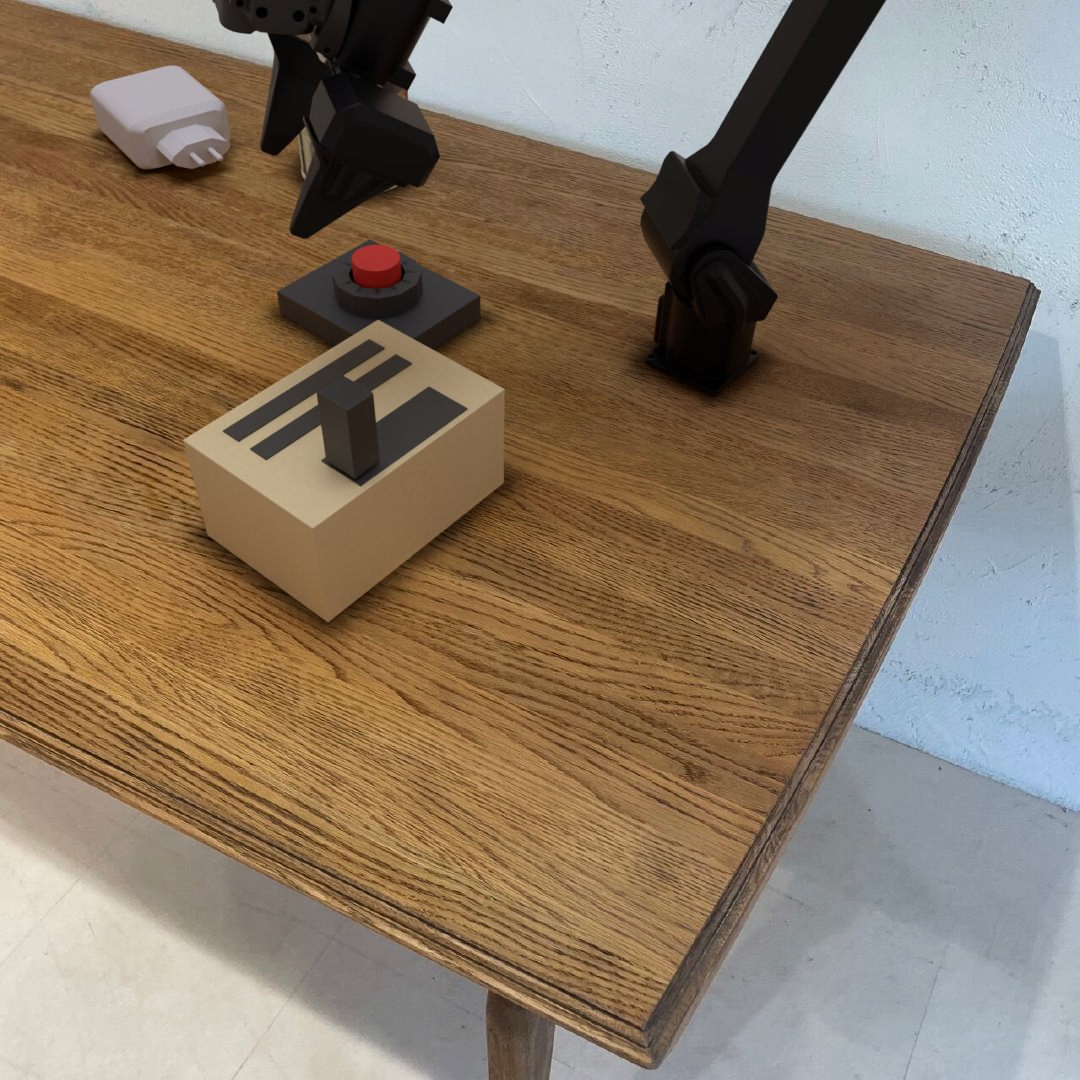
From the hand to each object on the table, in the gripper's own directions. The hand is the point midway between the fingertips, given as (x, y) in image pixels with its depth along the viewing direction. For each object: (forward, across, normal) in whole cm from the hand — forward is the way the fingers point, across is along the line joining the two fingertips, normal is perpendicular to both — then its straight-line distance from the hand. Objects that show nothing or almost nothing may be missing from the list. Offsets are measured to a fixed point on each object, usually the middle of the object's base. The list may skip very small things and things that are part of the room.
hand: (281, 192), depth 68 cm
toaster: (+14, +11, +9) cm, 20 cm away
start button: (+8, -9, +14) cm, 18 cm away
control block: (+11, -9, +16) cm, 21 cm away
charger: (+19, -40, +7) cm, 44 cm away
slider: (+7, +15, +4) cm, 17 cm away
